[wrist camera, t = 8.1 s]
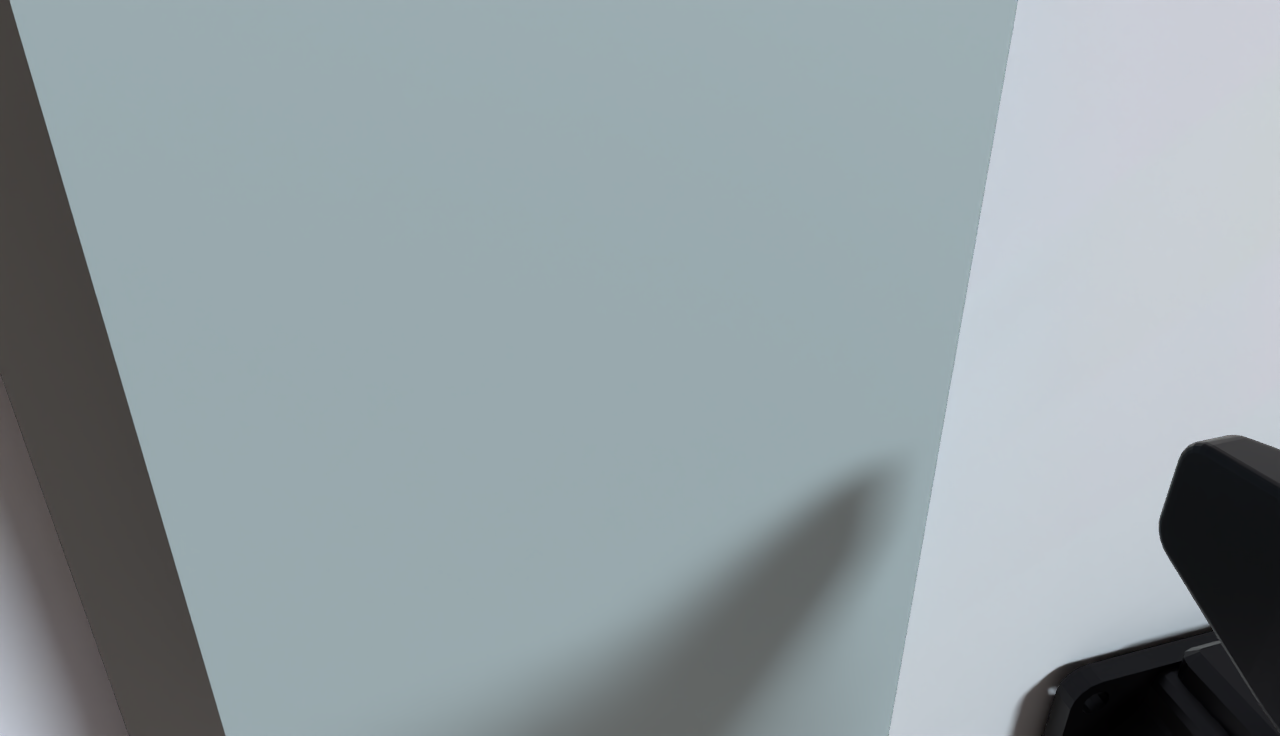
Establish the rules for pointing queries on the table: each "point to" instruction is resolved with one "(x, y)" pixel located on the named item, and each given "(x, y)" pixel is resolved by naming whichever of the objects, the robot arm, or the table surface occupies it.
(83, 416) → the felt pad
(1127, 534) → the table surface
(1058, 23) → the table surface
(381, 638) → the lid
